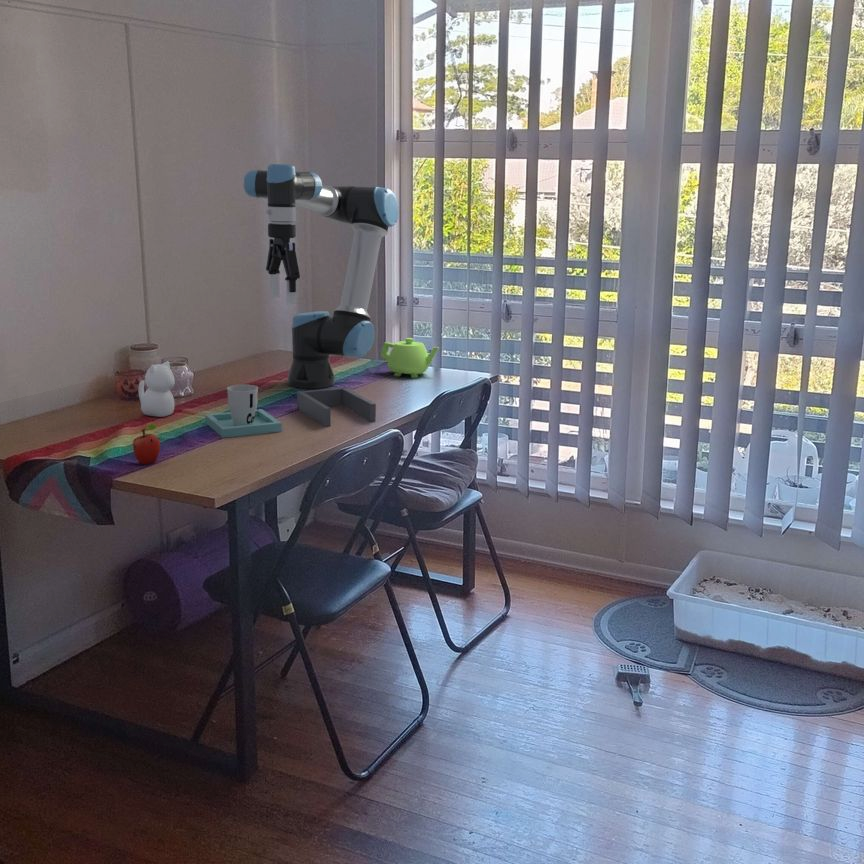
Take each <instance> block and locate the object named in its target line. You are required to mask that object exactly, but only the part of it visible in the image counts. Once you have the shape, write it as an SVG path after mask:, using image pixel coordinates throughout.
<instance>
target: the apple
mask: <svg viewBox="0 0 864 864" xmlns="http://www.w3.org/2000/svg"><path fill="white" fill-rule="evenodd" d="M155 429H157V427H156V425H155V424H154V423H149V424H148V425H147V426H146V427H144V428H143V429H142V428H141V432H142V435H140V436H136V437H135V438H134V439H133V440H132V449H133V453H134V456H135V458H136V460H137V462H139V463H140V464H141V465H149V464H154V463H155V462H156V461H157V460H158V457H159V455H160V451H161V441H160V438H159V437H158V436H157V435H156V434H153V433H147V434H146V430H150V431H151V430H155Z"/></svg>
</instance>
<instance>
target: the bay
mask: <svg viewBox="0 0 864 864" xmlns="http://www.w3.org/2000/svg"><path fill="white" fill-rule="evenodd" d="M296 404H297V405H296V406H297V407H296V409H297V410H299V411H301V412H302V413H304V414H305V415H307V416H308V417H310V418H311V419H313V420H315V421H316V422H318V423H319V424H321V425H322V426H323V427H331V425H332V423H331V422H332V421H331V420H332V418H331V415H332V413H331V412H332V410H331V408H332V407H338V406H339V407H341V406H343V408H347V409H348V410H349V411H351V412H352V413H354V414H356V415H358V416H360V417H362V419H365V420H367V421H368V422H371V423H373V422H376V421H377V418H376V415H377V413H376V412H377V411H376V410H377V409H376V408H377V407H376V406H377V404H376V403H375V402H373V401H371V400H370V399H367V398H366V397H363V396H362V395H360V394H359V393H356V392H354V391H352V390H350V389H349V388H347V387H345V386H344V387H335V388H326V389H325V388H321V389H313V390H311V389H310V390H302V391H297V392H296Z"/></svg>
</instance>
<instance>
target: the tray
mask: <svg viewBox="0 0 864 864" xmlns="http://www.w3.org/2000/svg"><path fill="white" fill-rule="evenodd" d="M204 415H205V416H204V419H205V424H206V425H208V427H210V428H211V429H212V430H213V431H214V432H216V433H217V434H218V435H219V436H220V437H221V438H222V439H223V438H233V437H242V436H243V437H244V436H251V435H259V434H269V433H270V434H271V433H280V432H282V431H283V427H282V425H283V423H282V422H281V421H279V420H278V419H277V418H275V417H274V416H272V415H271V414H270V413H268V412H267V411H266V410H264V409H262V408H261V409H260V408H259V409H256V416H255V419H254V423H253V424H252V425H243V426H235V425H234V423H233V420H232V417H231V414H230V411H229V412H219V413H207V414H204Z"/></svg>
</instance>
